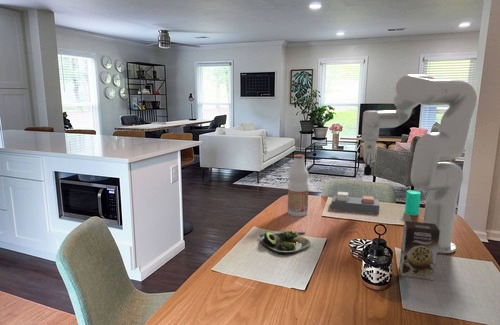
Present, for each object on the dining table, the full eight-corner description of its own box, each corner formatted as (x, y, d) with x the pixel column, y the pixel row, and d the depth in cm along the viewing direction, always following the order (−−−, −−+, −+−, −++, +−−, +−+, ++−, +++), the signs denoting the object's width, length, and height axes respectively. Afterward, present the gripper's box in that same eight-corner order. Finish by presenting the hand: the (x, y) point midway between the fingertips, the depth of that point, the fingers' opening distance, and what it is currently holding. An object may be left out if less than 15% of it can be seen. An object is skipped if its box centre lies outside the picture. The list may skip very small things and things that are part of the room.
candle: (401, 212, 160) (404, 187, 157) (410, 210, 162) (413, 186, 160) (412, 216, 154) (415, 191, 152) (421, 214, 157) (424, 189, 155)
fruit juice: (291, 217, 152) (292, 157, 147) (284, 211, 161) (285, 153, 156) (310, 216, 154) (312, 156, 149) (303, 209, 163) (304, 153, 158)
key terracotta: (373, 203, 165) (373, 196, 164) (373, 206, 160) (373, 199, 159) (362, 202, 166) (362, 195, 166) (362, 205, 162) (362, 198, 161)
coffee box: (401, 276, 103) (406, 227, 100) (399, 266, 109) (403, 219, 106) (434, 281, 100) (440, 230, 97) (430, 270, 106) (435, 222, 103)
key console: (377, 207, 167) (378, 199, 166) (378, 213, 158) (379, 205, 157) (332, 202, 174) (333, 195, 173) (331, 208, 164) (331, 201, 163)
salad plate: (291, 230, 139) (291, 219, 138) (322, 245, 125) (323, 234, 124) (252, 241, 129) (252, 229, 128) (281, 259, 114) (282, 247, 113)
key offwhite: (347, 199, 168) (348, 192, 168) (347, 202, 164) (347, 195, 163) (337, 198, 170) (338, 191, 169) (337, 201, 165) (337, 194, 164)
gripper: (379, 139, 149) (376, 179, 153) (377, 135, 163) (375, 172, 167) (361, 138, 151) (358, 178, 155) (361, 135, 165) (359, 171, 169)
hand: (367, 174), depth 161 cm, fingers closed
